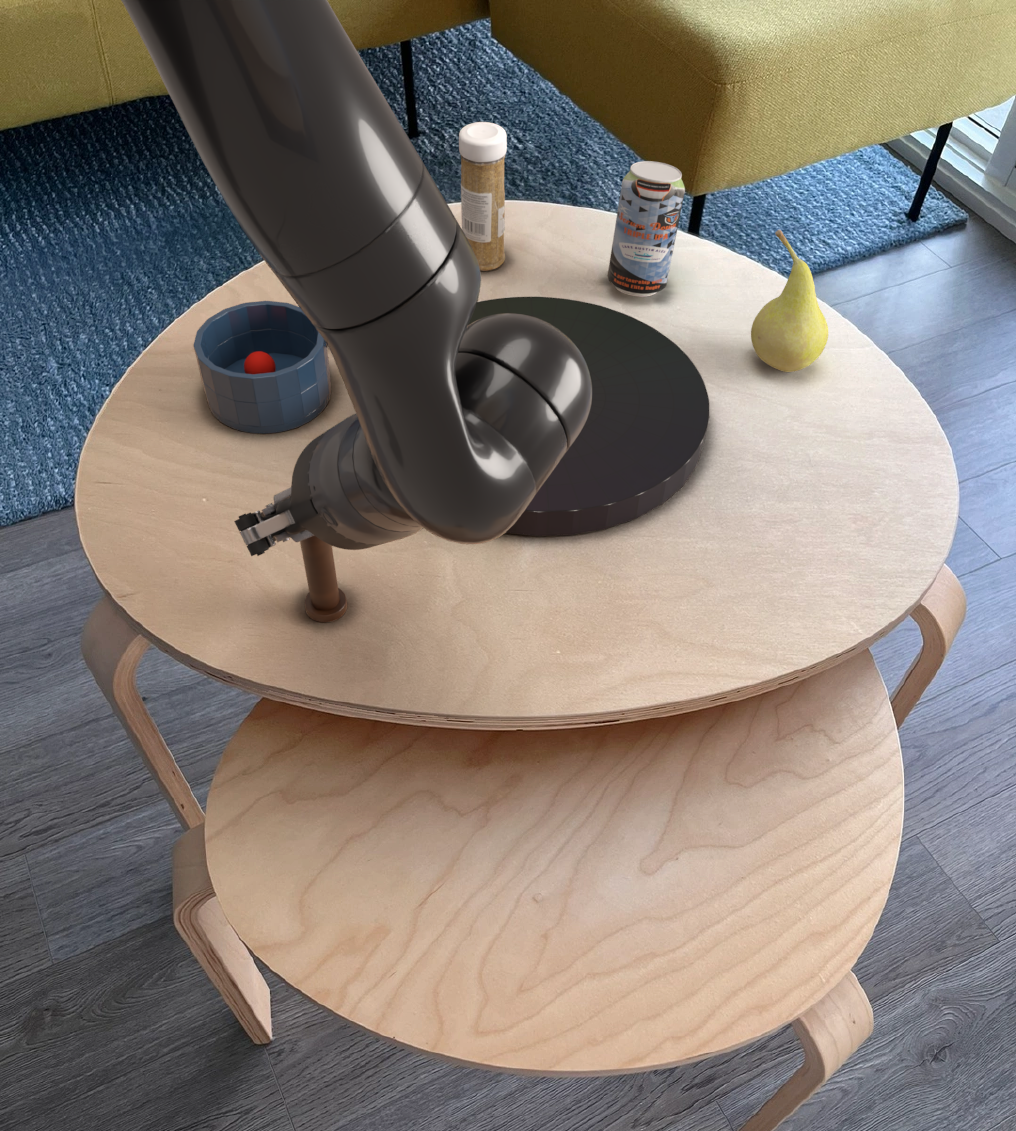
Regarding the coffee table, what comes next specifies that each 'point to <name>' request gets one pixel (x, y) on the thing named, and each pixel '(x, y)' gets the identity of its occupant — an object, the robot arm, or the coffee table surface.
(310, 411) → the bowl
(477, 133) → the spice jar
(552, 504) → the disc
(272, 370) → the red ball
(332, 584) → the stick
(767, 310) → the fruit
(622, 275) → the beverage can
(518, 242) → the coffee table surface
